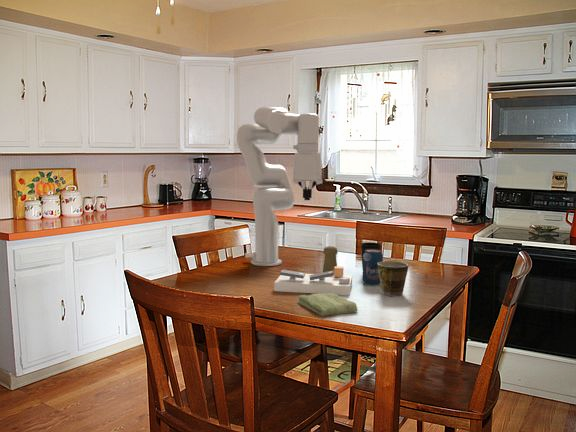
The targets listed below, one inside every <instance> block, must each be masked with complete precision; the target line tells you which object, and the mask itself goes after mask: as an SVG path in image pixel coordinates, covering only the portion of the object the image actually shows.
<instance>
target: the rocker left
mask: <svg viewBox="0 0 576 432" xmlns="http://www.w3.org/2000/svg"><path fill="white" fill-rule="evenodd" d="M305 274H306V273H305V272H300V271H294V270H288V269H282V270H281V271H280V272H279V276H280V275H283V276H290V277H296V278H302V279H303V278H304V277H305Z"/></svg>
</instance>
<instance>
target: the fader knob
mask: <svg viewBox="0 0 576 432" xmlns="http://www.w3.org/2000/svg"><path fill="white" fill-rule="evenodd" d="M343 276H344V266H338V265H337V266H335V267H334V277H343Z"/></svg>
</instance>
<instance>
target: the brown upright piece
mask: <svg viewBox="0 0 576 432" xmlns="http://www.w3.org/2000/svg"><path fill="white" fill-rule="evenodd" d="M323 254H324V261H323V267H322V272H321V273H324V272H329V271H334V267H335V266H338V265H337V255H338V248H337V247H336V246H331V245H330V246H329V245H328V246H325V247H324V248H323Z"/></svg>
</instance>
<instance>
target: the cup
mask: <svg viewBox="0 0 576 432" xmlns="http://www.w3.org/2000/svg"><path fill="white" fill-rule="evenodd" d="M360 249H361V253H360V254H361V265H362V266H361V267H362V269H363V254H364V252H365V250H366V249H378V250H381V251H382V243H379V242H361V244H360Z"/></svg>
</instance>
